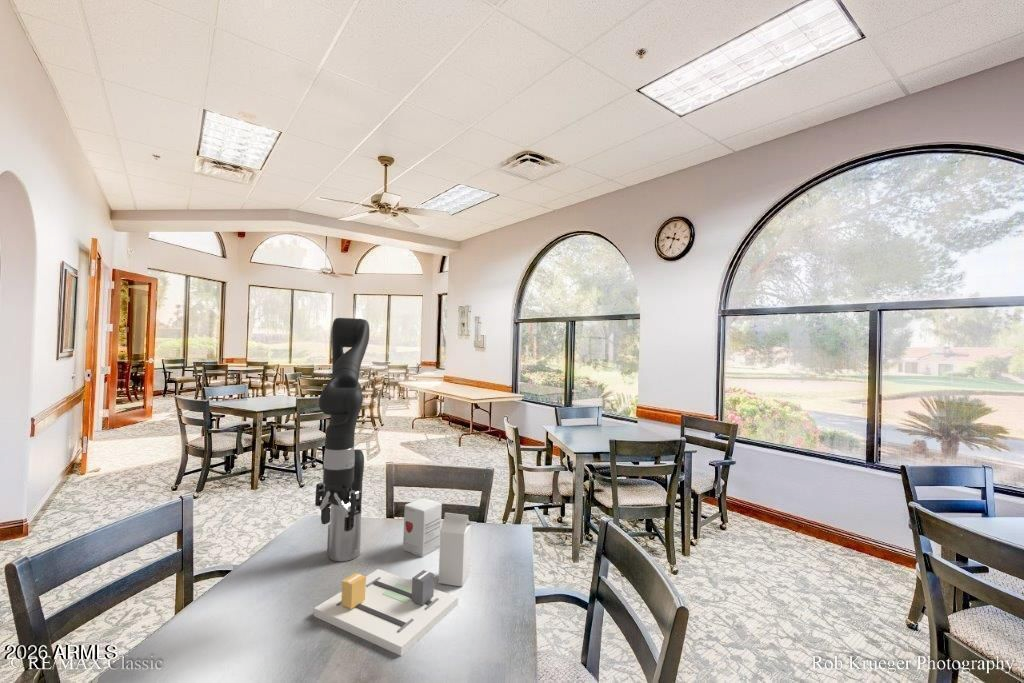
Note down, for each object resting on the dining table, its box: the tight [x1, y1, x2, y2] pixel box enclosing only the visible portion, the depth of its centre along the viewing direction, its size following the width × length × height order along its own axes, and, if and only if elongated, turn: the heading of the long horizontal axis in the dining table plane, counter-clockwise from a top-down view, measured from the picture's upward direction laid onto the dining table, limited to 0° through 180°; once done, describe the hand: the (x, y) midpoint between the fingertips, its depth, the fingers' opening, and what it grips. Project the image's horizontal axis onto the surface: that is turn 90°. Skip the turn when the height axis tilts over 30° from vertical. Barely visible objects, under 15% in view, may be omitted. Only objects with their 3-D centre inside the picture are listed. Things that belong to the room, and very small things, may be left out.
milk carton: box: [438, 512, 472, 587], centre depth 130 cm, size 7×7×19 cm
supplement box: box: [402, 497, 443, 558], centre depth 148 cm, size 9×9×15 cm
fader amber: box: [341, 572, 366, 609], centre depth 113 cm, size 4×4×6 cm
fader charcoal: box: [411, 569, 435, 605], centre depth 115 cm, size 4×4×6 cm
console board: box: [313, 568, 459, 657], centre depth 114 cm, size 28×22×2 cm
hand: (337, 526), depth 116 cm, fingers open, 8 cm apart
